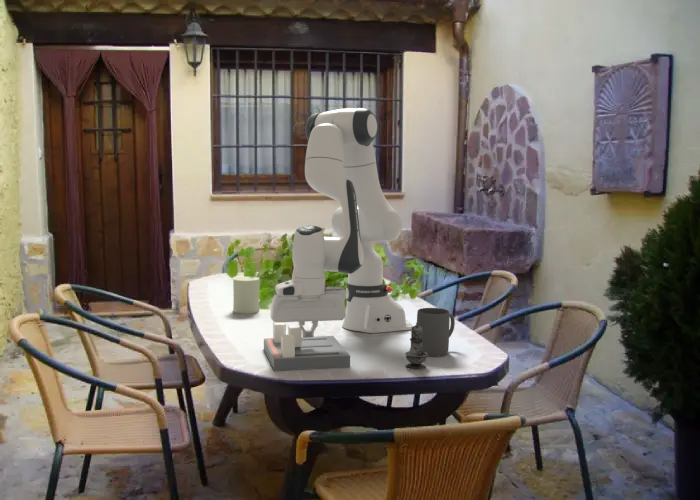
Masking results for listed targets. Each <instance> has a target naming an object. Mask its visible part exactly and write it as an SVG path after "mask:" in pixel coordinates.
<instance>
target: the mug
mask: <svg viewBox="0 0 700 500" xmlns="http://www.w3.org/2000/svg"><path fill="white" fill-rule="evenodd" d="M416 313H417V315H416V323H418V325H419V326H421V327H422V339H424V340H423V341H422V349H423V351H424V352H426V353H427V354H428V355H427V356H426V357H435V358H439V357H444V356H447V355H448V354H449V347H450V346H449V345H450V338H451V337H452V334H453V332H454V330H455V325H456V324H455V323H456V321H455V316H454V314H452V313H450V311H449V310H447V309H445V308H440V307H425V308H418V309H417V312H416Z"/></svg>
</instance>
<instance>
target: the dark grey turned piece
mask: <svg viewBox="0 0 700 500" xmlns="http://www.w3.org/2000/svg"><path fill="white" fill-rule="evenodd" d="M410 331H411V334H410V338H409V340H410V348H409V350H408V351H406V352H405V353H404V354H405V357H406V360H407V361H408V364H406V365H405V368H406V367H407V368H406V369H408V368H409V369H408V370H412V369H413V371H414V370H415V371H418V370H419V371H420V370H425V369H427V366H426V365H425V364H423V363H424V362H425V361H426V359H427V357H428V356H427V355H428V354H427V353H426V352H424V351H423V349H422V341H423V340H424V339H422V327H421V326H419V325H418V323H417V322H416V323H415V325H412V329H411V330H410Z"/></svg>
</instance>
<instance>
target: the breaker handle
mask: <svg viewBox="0 0 700 500" xmlns="http://www.w3.org/2000/svg"><path fill="white" fill-rule="evenodd" d="M287 328H288V329H287V331H288V332H287V335H293V336H294V338H295V347H302V337H303V336H302V329H301V327H300V326H299V325H288V327H287Z"/></svg>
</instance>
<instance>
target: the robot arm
mask: <svg viewBox="0 0 700 500" xmlns="http://www.w3.org/2000/svg"><path fill="white" fill-rule="evenodd" d="M304 130H305V131H304V132H305V137H306V139H307V141H308V142H307V147H306V152H305V158H304V159H305V160H304V161H305V162H304V177H305V181H306V183H307V184H308V186H309V187H310V188H311V189H313V190H314V191H315V192H317V193H319V194H321V195H323V196H325V197H327V198H331V199H332V200H335V201H336V202H338V204H340V207H337V208H336V209H335V210H334V212H333V214H332V217H331V226H332V229H333V232H334V233H335V234H336V235H337V236H325V235H324V229H323V228H322V227H320V226H317V225H304V226H299V227H298V228H296V230H295V232H294V236H293V243H292V255H291V256H292V258H291V259H292V263H293V270H292V275H291V276H292V277H291V279H290V280H285V281H284V282H280V283H277V284H276V285H275V286H274V287H275V289H274V290H275V293H276V294H274V295H273V296H272V301H271V306H270V319H271V320H272V322H275V323H277V322H284V323H297V324H298V326H300V327H301V329H302V337H303V338H307V337H315V336H314V335H315V334H314V333H315V331H316V329H317V327H318V325H319V322H330V321H331V322H332V321H333V322H335V321H343V322H342V325H341V326H342V328H344V329H347V330H350V331H356V332H363V333H367V334H376V333H378V334H379V333H388V332H397V331H398V332H399V331H411V329H412V327H413V323H412V322H411V321H410V320H407V319H406V312H405V309H404V307H403V306H402V305H401V304H400V303H399V302H397V300H395V299H394V298H392V297H391V296H390V295H389V294H391V293H392V292H393V290H394V289H393V287H392V286H390V285H387V284H385V283H383V279H384V278H383V274H384V267H383V266H384V262H383V258H382V257H381V255H380V254H378V252H376V250H375V248H374V246H373V242H374V243H375V242H376V243H385V242H392V241H395V240H397V239H398V238H399V236H400V235H401V233H402V230H403V219H402V216H401V215H400V213H399V212H398V211H397V210H396V209H394V208H393V206H391V204H390V203H389V202H388V200H387V199H386V196H385V194H384V192H383V190H382V187H381V184H380V179H379V173H378V168H377V167H378V166H377V159H376V151H375V149H374V143H373V141H374V140H375V139H376V137H377V134H378V120H377V118H376V115H375V114H374V113H373V112H372V110H371V109H370V108H365V107H364V108H363V107H358V108H339V109H338V108H337V109H334V110H333V109H332V110H328V111H323V112H322V111H320V112H319V111H318V112H316V113H313V114H311V115H310V116H309V117H308V119H307V120H306V121H305V126H304ZM325 272H336V273H337V272H338V273H342V274H343V273H344V274H347V283H346V288H344V287H342V286H339V285H336V286H332V285H330V286H327V285H326V273H325ZM345 301H346V305H345ZM306 322H311V324H312V326H311V327H310V329H305V327H304V326H305V325H306Z"/></svg>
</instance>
